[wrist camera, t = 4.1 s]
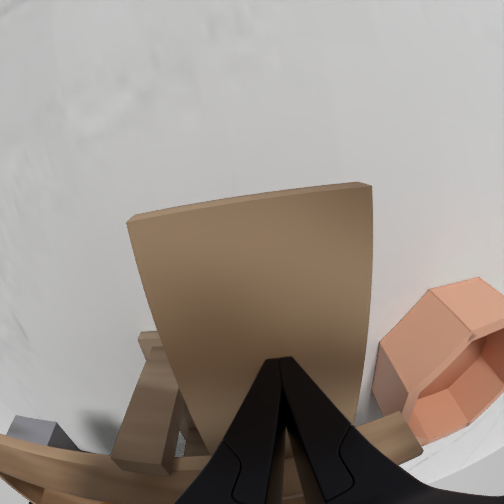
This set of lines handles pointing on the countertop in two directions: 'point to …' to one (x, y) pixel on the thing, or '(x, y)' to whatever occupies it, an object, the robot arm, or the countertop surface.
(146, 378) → the stand
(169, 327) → the lever
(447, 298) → the pink octagonal bowl
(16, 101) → the countertop surface
